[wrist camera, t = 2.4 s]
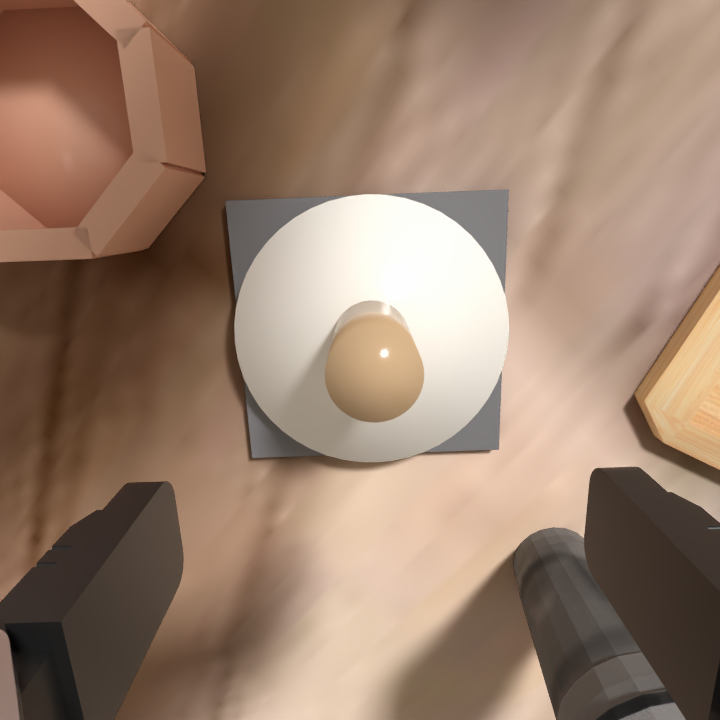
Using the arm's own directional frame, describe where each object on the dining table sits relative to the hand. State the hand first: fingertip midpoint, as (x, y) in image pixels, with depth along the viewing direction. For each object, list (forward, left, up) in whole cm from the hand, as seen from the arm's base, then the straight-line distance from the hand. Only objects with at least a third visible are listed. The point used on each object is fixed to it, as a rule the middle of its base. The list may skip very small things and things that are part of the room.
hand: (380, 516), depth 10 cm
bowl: (+13, -10, -17) cm, 23 cm away
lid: (0, 0, -16) cm, 16 cm away
